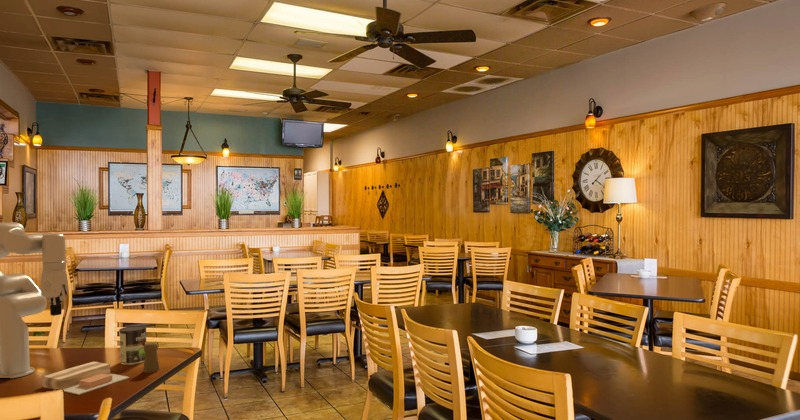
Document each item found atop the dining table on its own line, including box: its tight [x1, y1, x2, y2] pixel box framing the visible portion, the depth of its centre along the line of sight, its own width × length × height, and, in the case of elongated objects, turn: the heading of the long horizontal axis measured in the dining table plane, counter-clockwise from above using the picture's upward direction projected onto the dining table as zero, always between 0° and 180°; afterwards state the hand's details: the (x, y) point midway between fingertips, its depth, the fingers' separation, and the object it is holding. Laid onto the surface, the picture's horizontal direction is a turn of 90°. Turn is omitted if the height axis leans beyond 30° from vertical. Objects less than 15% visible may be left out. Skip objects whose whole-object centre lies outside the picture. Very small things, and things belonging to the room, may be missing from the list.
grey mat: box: [63, 373, 130, 396], centre depth 206 cm, size 11×20×1 cm, turn 154°
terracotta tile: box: [79, 373, 113, 388], centre depth 206 cm, size 6×9×2 cm, turn 154°
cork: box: [142, 342, 160, 374], centre depth 221 cm, size 6×6×11 cm
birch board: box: [41, 360, 111, 391], centre depth 211 cm, size 10×20×4 cm, turn 154°
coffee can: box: [118, 325, 147, 366], centre depth 235 cm, size 10×10×14 cm
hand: (56, 314), depth 211 cm, fingers closed
